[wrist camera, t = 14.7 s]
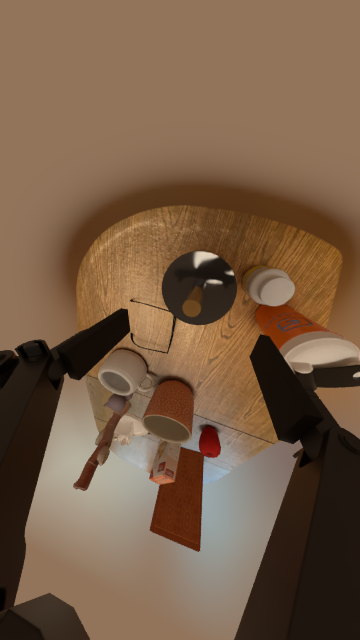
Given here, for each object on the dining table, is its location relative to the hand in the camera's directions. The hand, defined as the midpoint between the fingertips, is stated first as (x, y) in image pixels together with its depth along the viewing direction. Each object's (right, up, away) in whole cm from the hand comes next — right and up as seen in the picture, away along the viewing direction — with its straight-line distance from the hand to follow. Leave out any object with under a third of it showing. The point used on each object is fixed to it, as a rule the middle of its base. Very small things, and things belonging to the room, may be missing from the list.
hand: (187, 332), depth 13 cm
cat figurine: (-25, -29, +49) cm, 62 cm away
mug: (-19, -18, +42) cm, 49 cm away
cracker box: (-4, -53, +56) cm, 77 cm away
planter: (-2, -28, +43) cm, 51 cm away
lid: (+3, +7, +12) cm, 14 cm away
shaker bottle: (+23, +3, +20) cm, 31 cm away
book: (+3, -84, +71) cm, 110 cm away
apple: (+14, -53, +52) cm, 76 cm away
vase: (-30, -44, +58) cm, 79 cm away
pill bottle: (+17, +11, +18) cm, 27 cm away
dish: (-33, -64, +69) cm, 100 cm away
